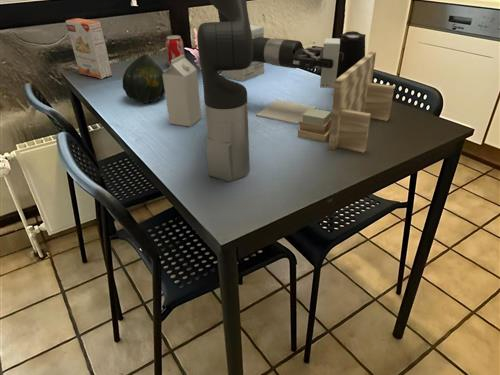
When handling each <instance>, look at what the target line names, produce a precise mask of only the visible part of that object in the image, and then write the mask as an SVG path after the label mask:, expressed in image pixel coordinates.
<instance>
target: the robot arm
mask: <svg viewBox="0 0 500 375" xmlns="http://www.w3.org/2000/svg"><path fill="white" fill-rule="evenodd" d="M208 1H209V2H210V4H211V5H212V6H213V7H214V8H215V9H216V10H217V13H218V19H219V21H211V22H202V23H201V24H200V25H199V27H198V29H197V34H196V35H197V36H196V37H197V39H196V41H197V50H198V56H199V57H198V58H199V62H200V63H199V64H200V70H201V71H200V72H201V77H202V78H201V79H202V85H203V88H202V89H203V98H204V108H205V109H204V110H205V111H204V112H205V120H206V130H207V132H206V133H207V138H206V139H205V148H206V157H207V158H206V160H207V168H208V175H209V176H210V177H212V178H217V179H220V180H222V181H226V182H229V183H231V182H233V181H235V180H238V179H241V178H244V177H246V176H247V175H248V174H249V173H250V167H251V166H250V145H249V144H250V142H249V141H250V140H249V138H250V137H249V116H248V115H249V114H248V113H249V112H248V110H249V108H248V107H249V106H248V91H247V88H246V87H245V86H244V84H241V83H240V82H236V81H234V80H230V79H228V78H227V77H224V76H221V75H219V71H230V70H242V69H246V68H248V67H249V66H250V65H251V63H252V62H255V61H256V62H262V63H264V64H268V65H272V66H276V67H283V68H289V69H297V68H301V69H309V70H313V69H316V68H322V67H324V68H332V67H333V62H334V61H333V60H332V59H325V58H323V47H324V46H317V45H312V46H310V47H309V46H308V47H306V48H304V45H303V43H302V42H301V41H300V40H294V39H287V38H286V39H285V38H278V37H276V38H272V37H271V38H269V37H264V38H263V37H256V38H254V39H252V34H251V28H250V25H251V24H250V18H249V11H248V4H247V0H208ZM343 56H344V54H343V53H342V52H339V58H338V61H342V60H343Z"/></svg>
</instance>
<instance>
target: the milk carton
mask: <svg viewBox="0 0 500 375" xmlns="http://www.w3.org/2000/svg"><path fill="white" fill-rule="evenodd" d="M163 72H164V73H163V74H162V75H163V82H164V89H165V94H164V95H165V100H166V107H167V114H168V120H169V124H171V125H175V126H176V125H177V126H184V127H192V126H193V125H194V124H196V123H197V122H198V121H199V120H200V119H202V109H201V100H200V90H199V81H198V80H199V79H198V70H197V68H196V67H195V66H194V65H193V64H192V63H191V62H190V61H189V60H188V59H187V58H186V55H185V53H184V54H183V55H181V56H179V57H177V58H175V59H173V60H171V66H168V67H167V69H166V70H164V71H163Z"/></svg>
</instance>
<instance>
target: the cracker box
mask: <svg viewBox="0 0 500 375" xmlns="http://www.w3.org/2000/svg"><path fill="white" fill-rule="evenodd" d="M65 24H66V28H67V32H68V35H69V39H70V43H71V47H72V49H73V50H72V51H73V53H74V57H75V58H74V59H75V61H76V66H77V69H78V72H79V74H80V73H82V74H86V75H89V76H93V77H97V78H104V77H106V76H109V75H112V76H113V72H112V69H111V63H110V59H109V55H108V50H107V44H106V41H105V37H104V32H103V27H102V24H101V21H98V20H91V19H85V18H78V17H77V18H71V19H66V20H65ZM89 76H88V77H89ZM93 77H92V78H93ZM97 78H96V79H97Z"/></svg>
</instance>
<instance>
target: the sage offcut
mask: <svg viewBox="0 0 500 375" xmlns="http://www.w3.org/2000/svg"><path fill="white" fill-rule="evenodd" d="M330 118H332V111H328V110H323V109H322V110H321V109H318V108H317V109H312V108H310V109H309V110H307V111H306V112H305V113H304V114H303V119H302V122H307V123H312V124H317V125H322V126H324V125H325V124H326V123H327V122H328V121H329V120H330Z"/></svg>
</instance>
